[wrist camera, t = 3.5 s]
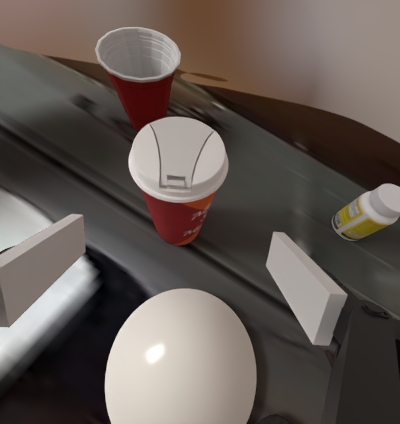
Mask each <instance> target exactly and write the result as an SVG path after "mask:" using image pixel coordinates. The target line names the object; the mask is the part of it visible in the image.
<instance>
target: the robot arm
mask: <svg viewBox="0 0 400 424" xmlns="http://www.w3.org/2000/svg"><path fill="white" fill-rule="evenodd" d="M84 253H85V235H84V218H83V215H78V214H71V215H69V216H67V217H65V218H64V219H62V220H60V221H58V222H57V223H55V224H53V225H51V226H49V227H48V228H46V229H44V230H42V231H41V232H39V233H37V234H35V235H34V236H32V237H30V238H28V239H27V240H25V241H23V242H21V243H20V244H18V245H16V246H13V247H10V248H7V249H5V250H3V251H1V252H0V327H10V326H11V325H12V324H13V323H14V322H15V321H16V320H17V319H18V318H19V317H20V316H21V315H22V314H23V313H24V312H25V311H26V310H27V309H28V308H29V307H30V306H31V305H32V304H33V303H34V302H35V301H36V300H37V299H38V298H39V297H40V296H41V295H42V294H43V293H44V292H45V291H46V290H47V289H48V288H49V287H50V286H51V285H52V284H53V283H54V282H55V281H56V280H57V279H58V278H59V277H60V276H61V275H62V274H63V273H64V272H65V271H66V270H67V269H68V268H69V267H70V266H72V265H73V264H74V263H75V262H76V261H77V260H78V259H79V258H80V257H81V256H82V255H83V254H84ZM266 267H267V268H268V270H269V272H270V273H271V275H272V277H273V279H274V280H275V282H276V284H277V285H278V287H279V289H280V290H281V292H282V294H283V295H284V297H285V299H286V300H287V302H288V304H289V305H290V307H291V309H292V310H293V312H294V314H295V316H296V317H297V319H298V321H299V322H300V324H301V326H302V327H303V329H304V331H305V332H306V334H307V336H308V337H309V339H310V341H311V342H312V344H313V345H326V346H329V345H330V342H331V339H332V337H333V335H334V337H335V338H336V339H337V341H338V342H339V343H338V346H337V349H336V351H335V354H334V356H333V359H332V363H333V367H332V372H331V377H330V382H329V386H328V391H327V396H326V401H325V405H324V410H323V415H322V420H321V424H400V321H399V320H395V319H392V317H391V315H390V314H389V313H388V312H387V311H386V310H384V309H383V308H381V307H380V306H378V305H376V304H374V303H371V302H368V301H364V300H359V299H358V298H357V297H356V296H355V295H354V294H353V293H352V292H351V291H349V290H348V289H347V288H346V287H345V286H343V284H342V283H341V282H340V281H338V279H337V278H336V277H335V276H333V275H332V274H331V273H330V272H328V271H326V270H325V269H323V268H320V267H319V266H318V265H317V264H316V263H315V262H314V261H313V260H312V259H311V258H310V257H308V256H307V255H306V254H305V253H304V252H303V251H302V250H301V249H300V248H299V247H298V246H297V245H296V244H295V243H294V242H293V241H292V240H291V239H290V238H289V237H288V236H287V235H286V234H285V233H283V232H273V236H272V241H271V245H270V250H269V254H268V259H267V263H266Z"/></svg>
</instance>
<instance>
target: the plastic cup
mask: <svg viewBox="0 0 400 424" xmlns="http://www.w3.org/2000/svg"><path fill="white" fill-rule="evenodd" d="M95 52H96V55H97V58H98V61H99V63H100V64H101V65H102V66H103V67H104V69H105V70H106V72H107V74H108V75H109V77H110V79H111V81H112V82H113V84H114V87H115V89H116V91H117V93H118V96H119V98H120V100H121V102H122V105H123V107H124V109H125V112H126V113H127V115H128V117H129V119H130V122H131V124H132V126H133V127H134V129H135V130H136V131H138V132H139V131H140V130H141V129H142V128H143V127H145V126H146V125H147V124H150V123H151V122H154V121H156V120H159V119H163V118H166V114H167V110H168V103H169V97H170V90H171V83H172V81H173V76H174V73H175V71H176V69H177V68H178V66H179V64H180V55H181V53H180V51H179V49H178V47H177V45H176V43H174V42H173V41H172V40H171V39H170V38H168V37H167V36H166V35H164V34H161V33H159V32H157V31H154V30H151V29H146V28H140V27H127V28H120V29H116V30H113V31H110V32H108V33H107V34H105V35H104V36H103V37H102V38H100V39H99V40H98V43H97V46H96V48H95Z"/></svg>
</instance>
